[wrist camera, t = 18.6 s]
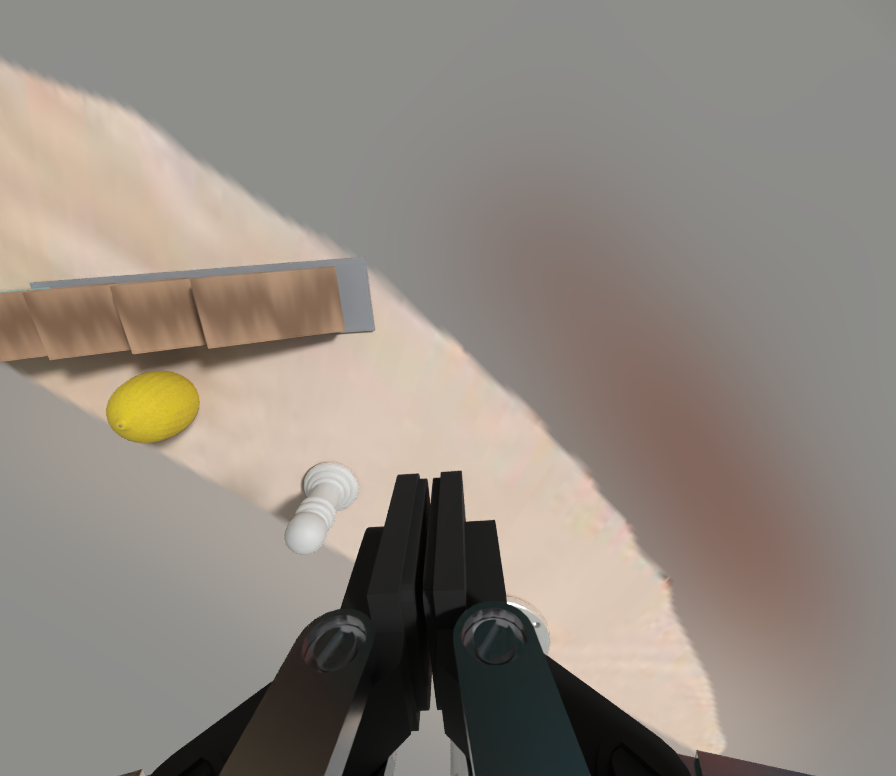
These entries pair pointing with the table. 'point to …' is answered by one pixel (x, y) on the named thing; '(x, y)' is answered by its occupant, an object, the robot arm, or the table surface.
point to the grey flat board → (347, 271)
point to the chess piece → (320, 506)
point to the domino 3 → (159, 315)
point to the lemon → (152, 406)
